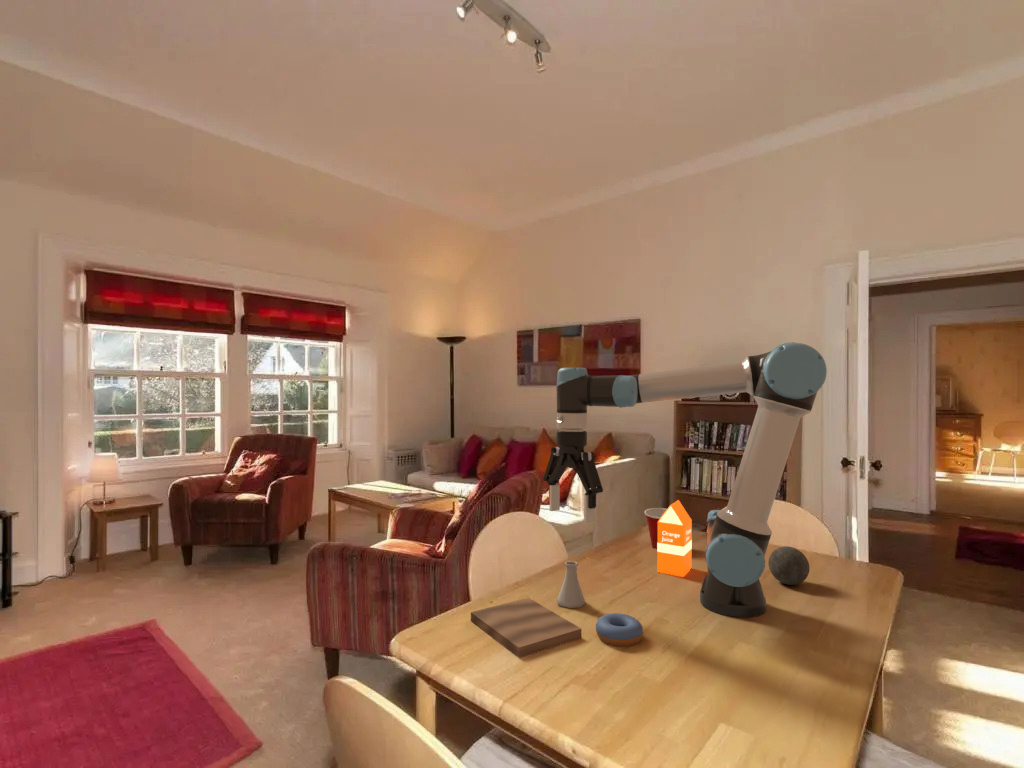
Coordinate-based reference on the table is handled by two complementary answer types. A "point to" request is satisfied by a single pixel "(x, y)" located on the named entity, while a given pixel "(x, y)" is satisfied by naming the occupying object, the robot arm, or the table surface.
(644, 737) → the table surface
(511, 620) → the walnut board
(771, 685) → the table surface
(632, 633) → the doughnut
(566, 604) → the flask
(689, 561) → the orange juice
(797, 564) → the decorative ball
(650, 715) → the table surface
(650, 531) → the plastic cup
